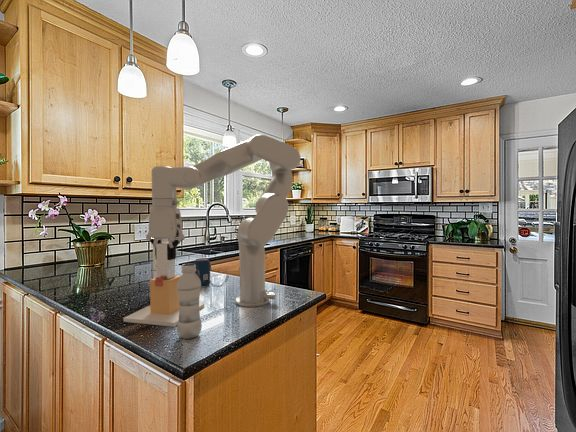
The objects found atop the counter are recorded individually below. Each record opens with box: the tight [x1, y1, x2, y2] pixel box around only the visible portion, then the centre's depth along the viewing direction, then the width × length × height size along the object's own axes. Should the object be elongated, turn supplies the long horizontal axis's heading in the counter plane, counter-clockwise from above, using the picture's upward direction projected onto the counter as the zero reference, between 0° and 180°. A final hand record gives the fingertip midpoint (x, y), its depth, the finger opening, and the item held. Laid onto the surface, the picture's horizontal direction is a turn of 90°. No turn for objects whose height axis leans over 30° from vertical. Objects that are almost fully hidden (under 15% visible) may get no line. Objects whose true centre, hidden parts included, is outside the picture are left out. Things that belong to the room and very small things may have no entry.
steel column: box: [156, 242, 176, 280], centre depth 100 cm, size 4×4×22 cm
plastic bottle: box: [176, 263, 203, 340], centre depth 83 cm, size 6×7×20 cm
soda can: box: [193, 257, 211, 288], centre depth 136 cm, size 7×7×12 cm
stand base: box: [122, 275, 205, 328], centre depth 100 cm, size 18×18×13 cm
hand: (165, 258), depth 100 cm, fingers closed on steel column, 4 cm apart
